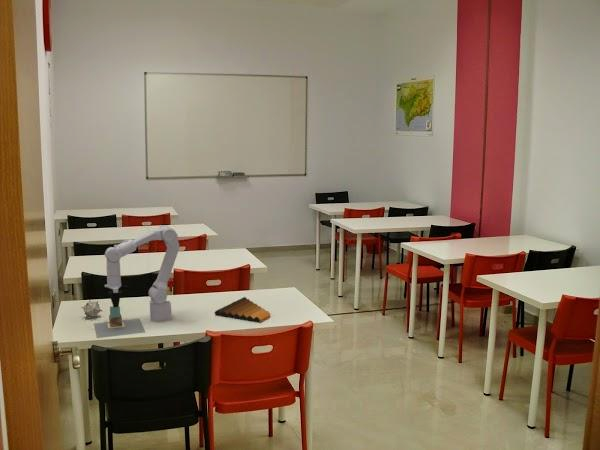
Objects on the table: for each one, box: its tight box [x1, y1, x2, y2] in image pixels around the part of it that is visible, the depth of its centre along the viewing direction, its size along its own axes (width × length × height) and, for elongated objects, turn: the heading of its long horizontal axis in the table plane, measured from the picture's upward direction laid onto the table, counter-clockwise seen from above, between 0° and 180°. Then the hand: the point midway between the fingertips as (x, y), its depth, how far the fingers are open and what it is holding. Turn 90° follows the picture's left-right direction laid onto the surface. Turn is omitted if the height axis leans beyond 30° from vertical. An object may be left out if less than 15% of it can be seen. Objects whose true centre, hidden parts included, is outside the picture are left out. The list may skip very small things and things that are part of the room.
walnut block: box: [108, 313, 123, 327], centre depth 268 cm, size 5×5×4 cm
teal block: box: [109, 305, 121, 318], centre depth 268 cm, size 4×4×4 cm
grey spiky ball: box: [81, 299, 103, 320], centre depth 281 cm, size 9×8×10 cm
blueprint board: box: [93, 318, 146, 339], centre depth 265 cm, size 20×20×1 cm
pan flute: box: [214, 296, 271, 324], centre depth 292 cm, size 25×3×25 cm
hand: (115, 304), depth 267 cm, fingers open, 7 cm apart
